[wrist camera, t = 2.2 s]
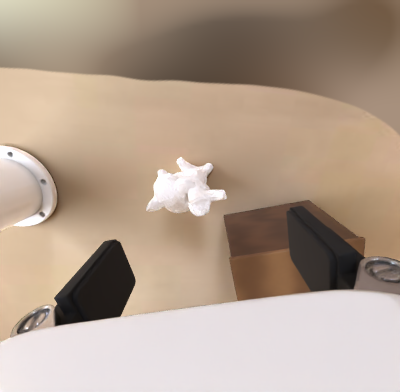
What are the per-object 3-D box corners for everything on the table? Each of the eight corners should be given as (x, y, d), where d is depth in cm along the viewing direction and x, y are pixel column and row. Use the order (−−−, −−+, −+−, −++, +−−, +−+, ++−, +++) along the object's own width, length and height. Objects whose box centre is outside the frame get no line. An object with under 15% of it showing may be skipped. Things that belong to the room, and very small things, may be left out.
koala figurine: (216, 149, 28) (223, 166, 16) (223, 193, 30) (233, 235, 18) (158, 159, 28) (126, 182, 17) (169, 202, 31) (147, 247, 19)
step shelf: (242, 316, 38) (255, 387, 28) (222, 214, 31) (229, 259, 21) (313, 307, 37) (355, 378, 26) (310, 199, 30) (365, 238, 19)
